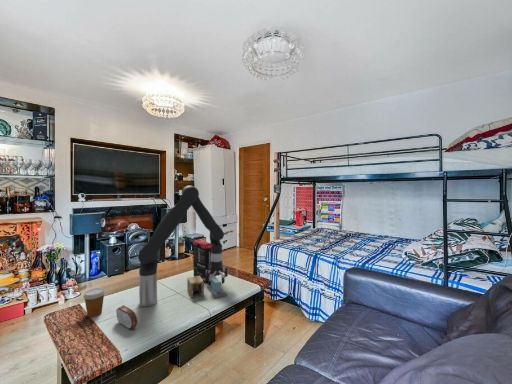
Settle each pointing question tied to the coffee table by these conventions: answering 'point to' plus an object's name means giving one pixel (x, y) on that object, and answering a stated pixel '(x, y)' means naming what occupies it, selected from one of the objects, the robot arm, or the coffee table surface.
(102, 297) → the disposable coffee cup
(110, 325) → the coffee table surface
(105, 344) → the coffee table surface
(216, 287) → the grey-blue block
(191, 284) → the sleeve
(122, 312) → the brown grey rounded block
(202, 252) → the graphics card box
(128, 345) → the coffee table surface
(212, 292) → the mat
